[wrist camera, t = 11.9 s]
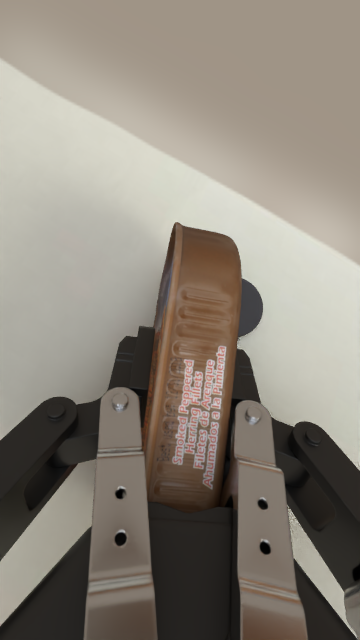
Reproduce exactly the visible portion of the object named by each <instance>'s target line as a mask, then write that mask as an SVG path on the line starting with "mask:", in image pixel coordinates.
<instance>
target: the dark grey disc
mask: <svg viewBox="0 0 360 640" xmlns="http://www.w3.org/2000/svg"><path fill="white" fill-rule="evenodd" d="M262 312H263V304H262V299H261V296H260V294H259V292H258V291H257V289H256V288H255V287H254V286H253V285H252V284H251V283H249V282H248V281H246V280H244V279H242V292H241V309H240V319H239V330H238V337H240V336H243V335H246V334H248V333H249V332H251V331H252V330H253V329H254V328H255V327H256V326H257V325H258V323H259V322H260V319H261V317H262Z"/></svg>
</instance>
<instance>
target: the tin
mask: <svg viewBox="0 0 360 640" xmlns="http://www.w3.org/2000/svg"><path fill="white" fill-rule="evenodd" d="M241 292H242V278H241V261H240V257H239V252H238V249H237V246H236V244H235V243H234V241H233V240H232V239H231V238H230V237H228V236H226V235H223V234H219V233H215V232H210V231H206V230H201V229H195V228H190V227H186V226H183V225H181V224H180V223H178V222H175V224H174V226H173V230H172V233H171V237H170V242H169V247H168V251H167V256H166V261H165V265H164V270H163V274H162V279H161V283H160V289H159V295H158V301H157V308H156V315H155V321H154V326H153V328H155V336H154V345H153V354H152V363H151V372H150V381H149V390H148V397H147V405H146V413H145V420H144V428H141V438H142V450H144V456H145V471H146V487H147V501H148V502H158V503H161V504H164V505H166V506H169V507H172V508H174V509H177V510H180V511H183V512H186V513H193V512H198V511H202V510H206V509H211V508H215V507H218V506H219V500H220V494H221V489H222V481H223V473H224V464H225V454H226V446H227V436H228V428H229V419H230V408H231V399H232V390H233V380H234V371H235V359H236V351H237V339H238V330H239V319H240V309H241Z"/></svg>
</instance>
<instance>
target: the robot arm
mask: <svg viewBox="0 0 360 640" xmlns="http://www.w3.org/2000/svg"><path fill="white" fill-rule="evenodd" d="M154 336H155V328H152V327H144V326H139V331H138V336H137V337H131V336H126V337H125V338H124V339H123V340H122V341H121V342H120V343H119V347H118V351H117V355H116V359H115V363H114V367H113V371H112V375H111V379H110V383H109V387H108V390H107V392H106V393H105V394H104V395H103V396H102V397H101V398H99V399H97V400H95V401H93V402H89V403H84V404H78V405H76V404H75V402H74V401H73V400H71V399H69V398H66V397H53V398H50V399H48V400H46V401H44V402H42V403H41V404H40V405H39V406H38V407H37V408H36V409H35V410H33V411H32V412H31V413H30V414H29V415H28V416H27V417H26V418H25V419H24V420H22V421H21V422H20V423H19V424H18V425H17V426H16V427H15V428H14V429H13V430H11V431H10V432H9V433H8V434H7V435H6V436H5V437H4V438H3V439H2V440H0V561H1V560H2V558H3V557H4V556H5V555H6V553H7V552H8V551H9V550H10V548H11V547H12V546H13V545H14V543H15V542H16V541H17V540H18V538H19V537H20V536H21V535H22V533H23V532H24V531H25V530H26V528H27V527H28V526H29V525H30V523H31V522H32V521H33V520H34V518H35V517H36V516H37V515H38V513H39V512H40V511H41V509H42V508H43V507H44V506H45V504H46V503H47V502H48V501H49V499H50V498H51V497H52V496H53V494H54V493H55V492H56V491H57V489H58V488H59V487H60V486H61V484H62V483H63V482H64V481H65V479H66V478H67V477H68V476H69V474H70V473H71V472H72V471H73V469H74V468H75V467H76V466H77V464H78V463H81V462H85V461H89V460H93V459H96V469H95V484H94V499H93V515H92V526H91V527H90V528H89V529H88V530H87V531H86V532H85V533H84V534H83V535H82V536H81V537H80V538H79V539H78V541H77V542H76V543H75V544H74V545H73V546H72V547H71V548H70V549H69V551H68V552H67V553H66V554H65V555H64V556H63V557H62V558H61V559H60V561H59V562H58V563H57V564H56V565H55V566H54V567H53V568H52V569H51V571H50V572H49V573H48V574H47V575H46V576H45V577H44V578H43V579H42V581H41V582H40V583H39V584H38V585H37V586H36V587H35V588H34V589H33V591H32V592H31V593H30V594H29V595H28V596H27V597H26V598H25V599H24V600H23V602H22V603H21V604H20V605H19V606H18V607H17V608H16V609H15V610H14V612H13V613H12V614H11V615H10V616H9V617H8V618H7V619H6V620H5V622H4V623H3V624H2V625H1V626H0V640H360V471H359V470H358V469H357V467H356V466H355V465H354V464H353V463H352V462H351V461H350V459H349V458H348V457H347V456H346V455H345V454H344V453H343V451H342V450H341V449H340V448H339V447H338V446H337V445H336V443H335V442H334V441H333V440H332V439H331V438H330V437H329V435H328V434H327V433H326V432H325V431H324V430H323V429H322V428H321V427H319V426H318V425H316V424H313V423H311V422H299V423H297V424H296V425H295V426H294V427H292V426H290V425H287V424H285V423H282V422H279V421H277V420H275V419H274V418H272V417H271V415H270V413H269V411H268V410H267V409H266V408H265V407H264V406H263V405H261V402H260V398H259V394H258V390H257V386H256V382H255V378H254V376H253V375H254V374H253V370H252V366H251V362H250V358H249V357H248V356H247V354H246V353H245V352H244V350H242V349H237V351H236V359H235V371H234V380H233V390H232V399H231V408H230V419H229V428H228V436H227V446H226V454H225V464H224V473H223V481H222V489H221V494H220V500H219V506H218V507H215V508H211V509H206V510H202V511H198V512H193V513H186V512H183V511H180V510H177V509H174V508H172V507H169V506H166V505H164V504H161V503H158V502H148V501H147V487H146V471H145V456H144V450H142V438H141V428H144V420H145V413H146V405H147V397H148V390H149V381H150V372H151V363H152V354H153V345H154ZM287 505H288V506H289V508H290V509H291V511H292V512H293V514H294V515H295V517H296V518H297V520H298V522H299V523H300V525H301V526H302V528H303V529H304V531H305V532H306V534H307V535H308V537H309V538H310V540H311V542H312V543H313V545H314V546H315V548H316V549H317V551H318V552H319V554H320V555H321V557H322V558H323V560H324V562H325V563H326V565H327V566H328V568H329V569H330V571H331V572H332V574H333V575H334V577H335V579H336V580H337V582H338V583H339V585H340V586H341V588H342V589H343V591H344V592H345V594H344V604H345V609H346V619H347V621H348V623H349V625H350V626H351V628H352V629H354V630H355V632H356V635H357V638H358V639H357V638H356V637H355V636H354V634H353V633H352V632H351V631H350V629H349V628H348V627H347V625H346V624H345V623H344V622H343V620H342V619H341V618H340V617H339V615H338V614H337V613H336V611H335V610H334V609H333V608H332V606H331V605H330V604H329V603H328V601H327V600H326V599H325V597H324V596H323V595H322V594H321V592H320V591H319V590H318V589H317V587H316V586H315V585H314V583H313V582H312V581H311V580H310V578H309V577H308V576H307V575H306V573H305V572H304V571H303V569H302V568H301V567H300V566H299V564H298V563H297V562H296V561H295V559H294V558H293V552H292V543H291V534H290V525H289V516H288V507H287Z"/></svg>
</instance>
